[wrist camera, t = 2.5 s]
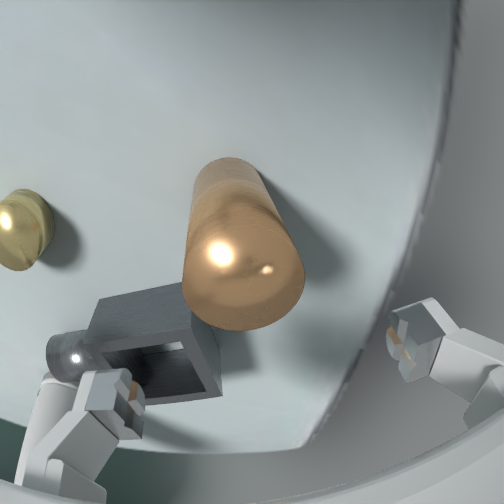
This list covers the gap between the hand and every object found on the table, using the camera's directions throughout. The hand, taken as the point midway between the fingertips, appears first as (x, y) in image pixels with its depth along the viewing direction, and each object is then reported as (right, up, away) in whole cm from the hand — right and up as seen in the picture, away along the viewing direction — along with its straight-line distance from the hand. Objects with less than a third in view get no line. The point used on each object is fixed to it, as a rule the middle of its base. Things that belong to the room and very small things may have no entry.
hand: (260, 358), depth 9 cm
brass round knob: (-17, +5, +10) cm, 20 cm away
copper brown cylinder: (-2, +7, +11) cm, 13 cm away
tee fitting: (-11, -4, +16) cm, 19 cm away
